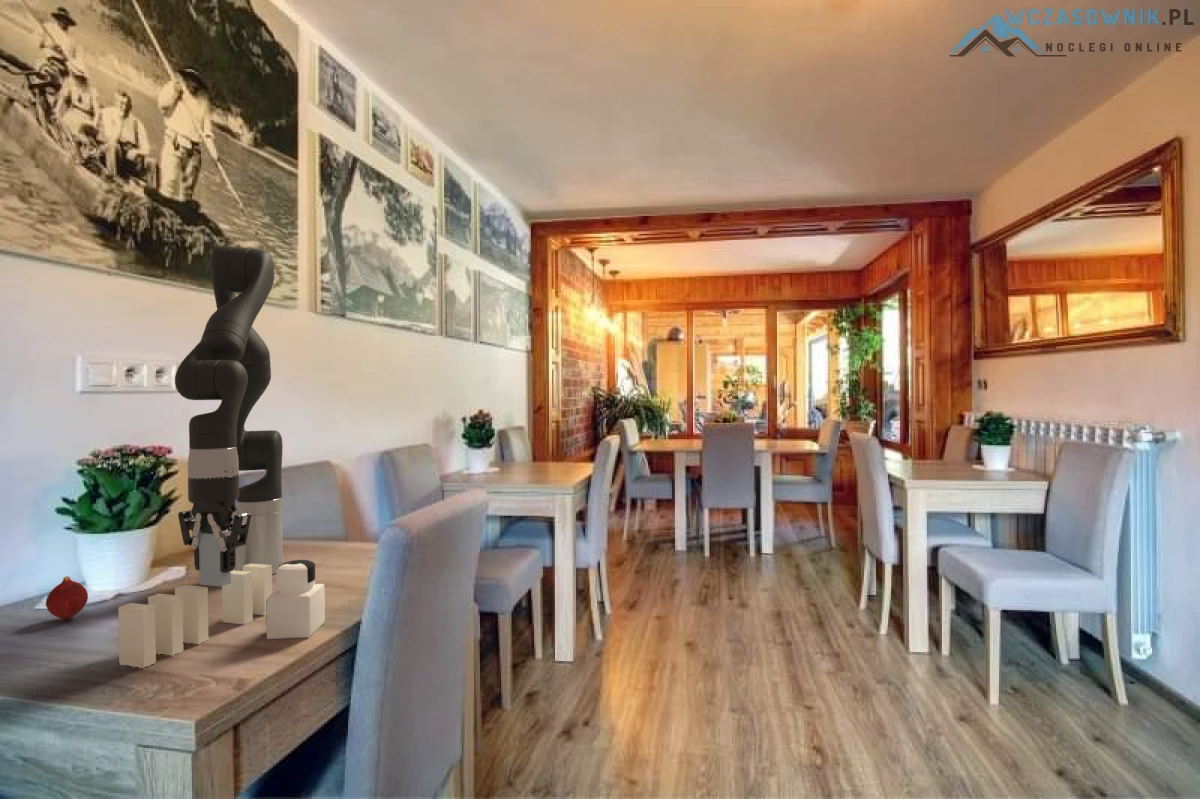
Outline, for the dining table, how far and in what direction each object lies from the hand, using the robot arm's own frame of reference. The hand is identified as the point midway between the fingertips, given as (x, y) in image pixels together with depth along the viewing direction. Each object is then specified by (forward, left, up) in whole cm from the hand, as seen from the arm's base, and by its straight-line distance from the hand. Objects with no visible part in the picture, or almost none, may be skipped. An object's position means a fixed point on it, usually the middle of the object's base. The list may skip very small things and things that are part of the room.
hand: (215, 570), depth 104 cm
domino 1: (0, -13, -11) cm, 17 cm away
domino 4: (0, 0, -2) cm, 2 cm away
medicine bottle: (+14, +4, -11) cm, 18 cm away
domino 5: (0, +5, -11) cm, 12 cm away
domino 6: (0, +9, -11) cm, 14 cm away
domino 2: (0, -9, -11) cm, 14 cm away
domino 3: (0, -4, -11) cm, 12 cm away
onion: (-32, -2, -11) cm, 34 cm away
